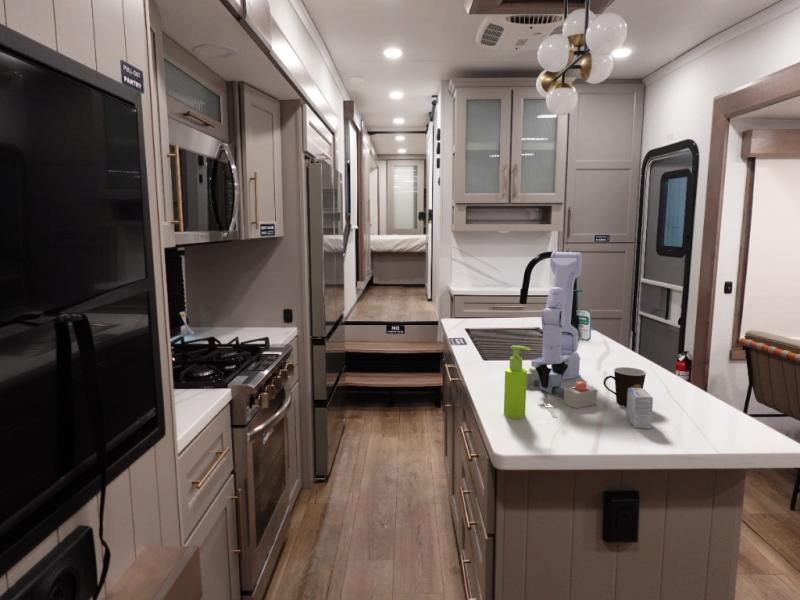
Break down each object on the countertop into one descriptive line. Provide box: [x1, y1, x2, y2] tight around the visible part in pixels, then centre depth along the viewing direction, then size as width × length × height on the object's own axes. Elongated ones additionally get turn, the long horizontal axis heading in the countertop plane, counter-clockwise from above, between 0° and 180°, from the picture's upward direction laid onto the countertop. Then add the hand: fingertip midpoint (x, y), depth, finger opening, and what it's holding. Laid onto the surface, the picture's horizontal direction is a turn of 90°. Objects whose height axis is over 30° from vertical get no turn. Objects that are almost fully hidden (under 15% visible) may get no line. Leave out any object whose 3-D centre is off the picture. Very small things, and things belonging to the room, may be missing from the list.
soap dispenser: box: [503, 344, 532, 420], centre depth 139 cm, size 6×7×20 cm
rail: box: [533, 379, 565, 399], centre depth 159 cm, size 2×17×2 cm, turn 25°
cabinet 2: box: [563, 385, 598, 409], centre depth 149 cm, size 8×5×4 cm, turn 115°
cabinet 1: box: [526, 366, 540, 388], centre depth 168 cm, size 8×3×6 cm, turn 115°
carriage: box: [538, 371, 562, 394], centre depth 161 cm, size 4×5×6 cm
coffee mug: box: [603, 366, 647, 407], centre depth 150 cm, size 12×9×10 cm
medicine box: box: [625, 388, 654, 430], centre depth 134 cm, size 8×4×9 cm, turn 170°
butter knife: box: [543, 403, 558, 419], centre depth 138 cm, size 1×24×3 cm
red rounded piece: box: [575, 380, 587, 392], centre depth 149 cm, size 3×3×4 cm
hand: (550, 386), depth 161 cm, fingers closed on carriage, 4 cm apart
